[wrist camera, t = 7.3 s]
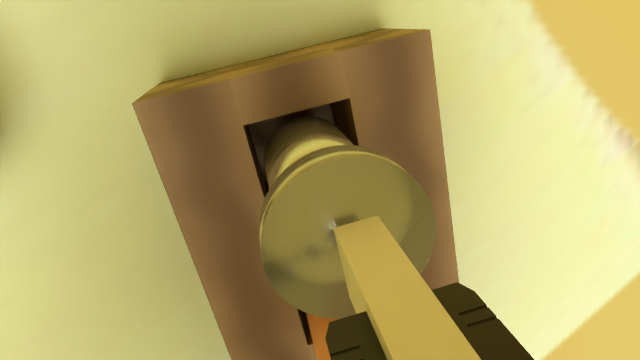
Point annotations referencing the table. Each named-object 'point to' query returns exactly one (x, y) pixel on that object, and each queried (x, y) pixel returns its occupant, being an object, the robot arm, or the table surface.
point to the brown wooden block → (250, 174)
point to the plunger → (331, 211)
